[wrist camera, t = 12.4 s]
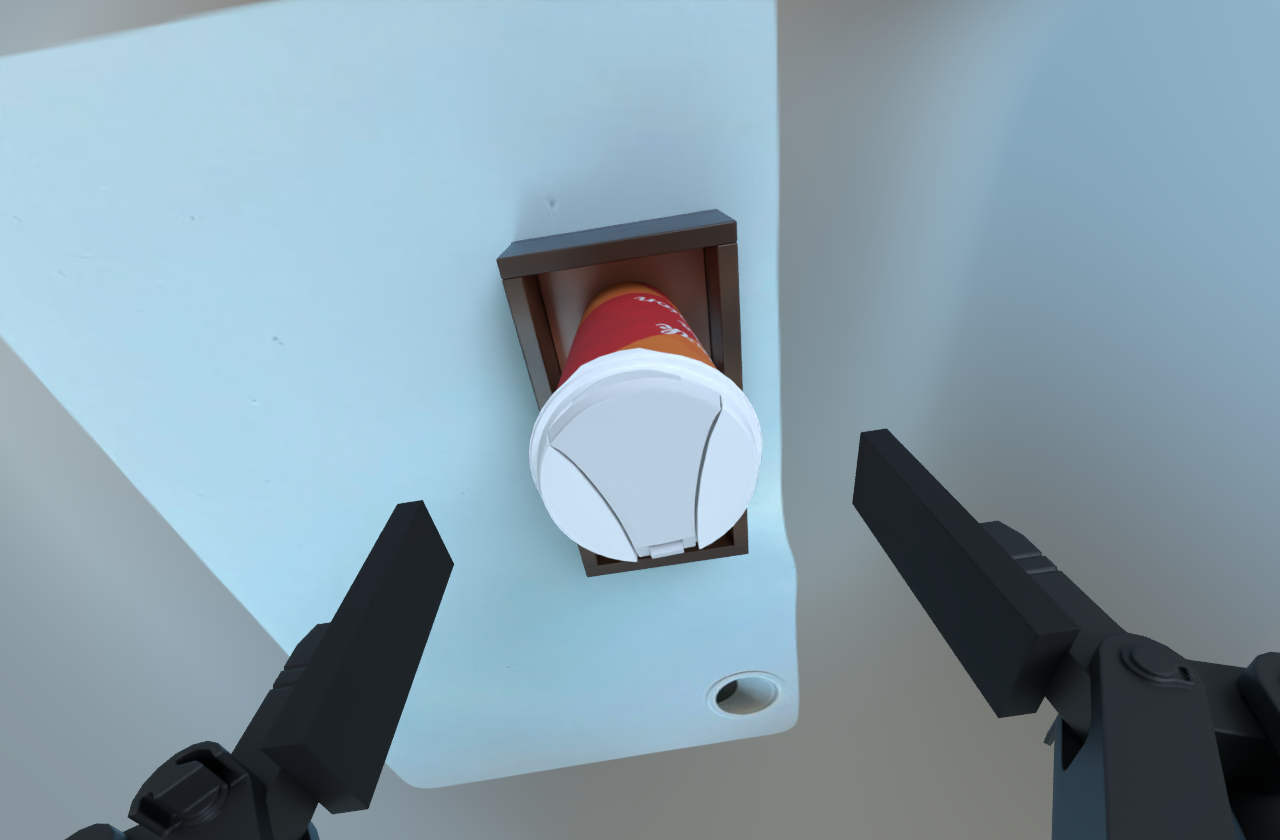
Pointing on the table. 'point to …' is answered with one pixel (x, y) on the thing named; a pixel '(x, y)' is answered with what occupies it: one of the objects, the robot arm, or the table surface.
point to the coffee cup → (643, 433)
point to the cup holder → (640, 252)
